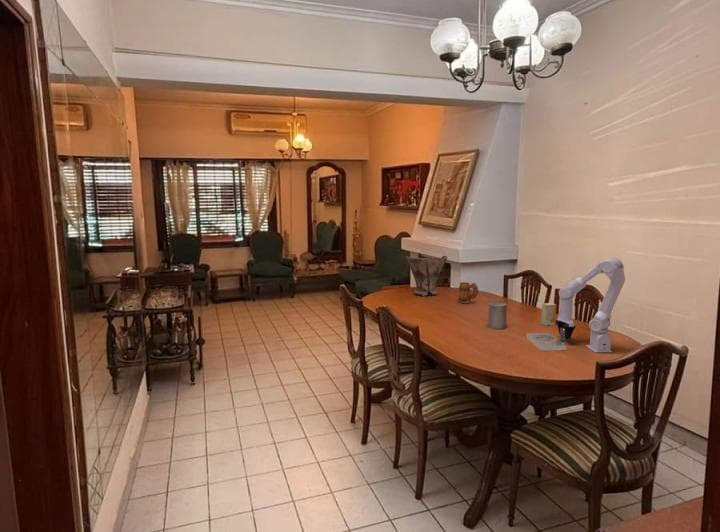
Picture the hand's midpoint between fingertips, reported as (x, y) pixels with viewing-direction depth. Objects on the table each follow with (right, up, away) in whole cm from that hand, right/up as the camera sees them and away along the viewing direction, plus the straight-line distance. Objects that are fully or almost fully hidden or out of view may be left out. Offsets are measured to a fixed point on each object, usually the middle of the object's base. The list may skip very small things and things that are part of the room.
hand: (564, 336), depth 229 cm
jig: (-11, -3, -3) cm, 12 cm away
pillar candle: (-26, +1, +27) cm, 38 cm away
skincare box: (+4, +2, +30) cm, 30 cm away
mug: (-29, +10, +84) cm, 89 cm away
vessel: (-53, +14, +114) cm, 127 cm away
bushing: (0, -2, 0) cm, 2 cm away
